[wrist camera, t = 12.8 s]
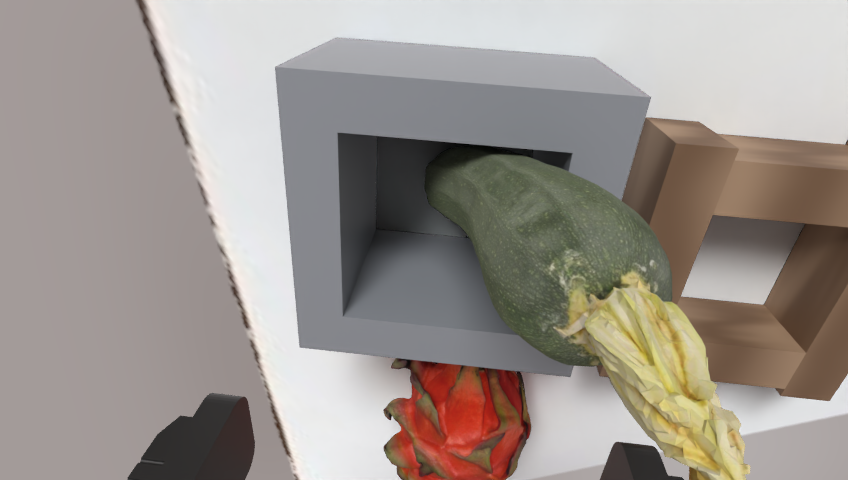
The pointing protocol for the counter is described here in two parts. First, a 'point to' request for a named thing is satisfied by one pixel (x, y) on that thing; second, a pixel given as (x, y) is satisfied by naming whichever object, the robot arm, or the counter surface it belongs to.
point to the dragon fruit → (458, 423)
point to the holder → (436, 121)
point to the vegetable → (590, 294)
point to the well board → (758, 199)
